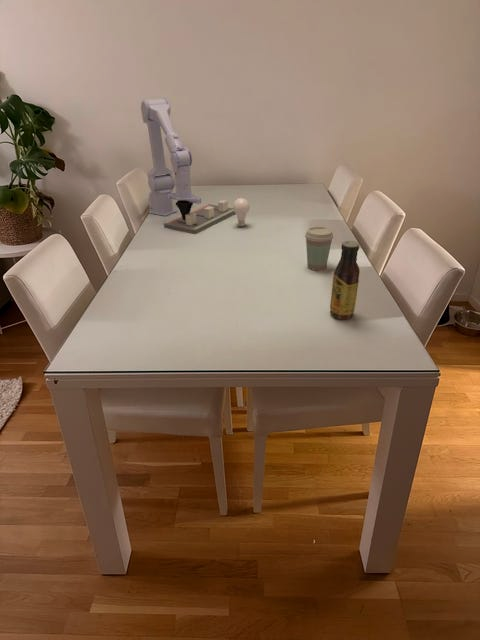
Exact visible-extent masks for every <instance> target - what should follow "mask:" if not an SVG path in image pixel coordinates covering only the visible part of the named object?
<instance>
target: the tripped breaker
mask: <svg viewBox="0 0 480 640" xmlns="http://www.w3.org/2000/svg"><path fill="white" fill-rule="evenodd" d="M190 212H191V213H188V214H186V225H193V224H195V223H197V221H196V213H192V211H190Z"/></svg>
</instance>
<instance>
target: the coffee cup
mask: <svg viewBox="0 0 480 640" xmlns="http://www.w3.org/2000/svg"><path fill="white" fill-rule="evenodd" d="M304 237H305V241H306V257H307V258H306V263H307V268H308V269H309V270H312V271H319V272H320V271H323V270H326V269H327V265H328V260H329V256H330V255H329V254H330V252H331V251H330V250H331V245H332V242H333V241H332V240H333V239H334V233H333V230H332V229H331V228H329V227H326V226H312V227H309V228H307V230H306V232H305V234H304Z"/></svg>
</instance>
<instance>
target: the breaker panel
mask: <svg viewBox="0 0 480 640" xmlns="http://www.w3.org/2000/svg"><path fill="white" fill-rule="evenodd" d="M208 206H211V207H214V217H212V218H210V219H208V218H204V208H206V207H208ZM191 212H192V213H196V221H197V223H195V224H193V225H186V220H183V218H182V215H180V216H179V217H176V218H174V219H172V220H169V221H167V222H165V223H163V225H164V226H163V227H164V228H165V229H170V230H174V231H179V232H183V233H188V234H192V235H196V234H199V233H200V232H202V231H204V230H206V229H208V228H210V227H213V226H214V225H216V224H218V223H221V222H222V221H224V220H226V219H228V218H230V217H232V216H234V215H236V213H235V212H234V210H233V207H228V210H227V211H224V212H220V211H218V205H217V204H215V205H214V204H211V203H208V204H206V205H204V206H202V207H201V206H200V208H197V209H195V210H192V211H190V213H191Z"/></svg>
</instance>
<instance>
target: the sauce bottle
mask: <svg viewBox="0 0 480 640" xmlns="http://www.w3.org/2000/svg"><path fill="white" fill-rule="evenodd" d="M359 249H360V243H358V242H357V241H355V240H345V241H343V242H342V243H341V255H340V259H339V261H338V263H337V265H336V268H335V269H334V271H333V278H332V279H333V280H332V283H331V284H332V286H331V296H330V306H329V311H330V312H329V314H330V315H331V317H333V318H335V319H336V320H349V319H352V317H353V316H354V312H355V308H356V303H357V295H358V287H359V282H360V281H359V278H360V273H361V271H360V267H359V264H358V263H357V261H358V258H357V257H358V252H359Z"/></svg>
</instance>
